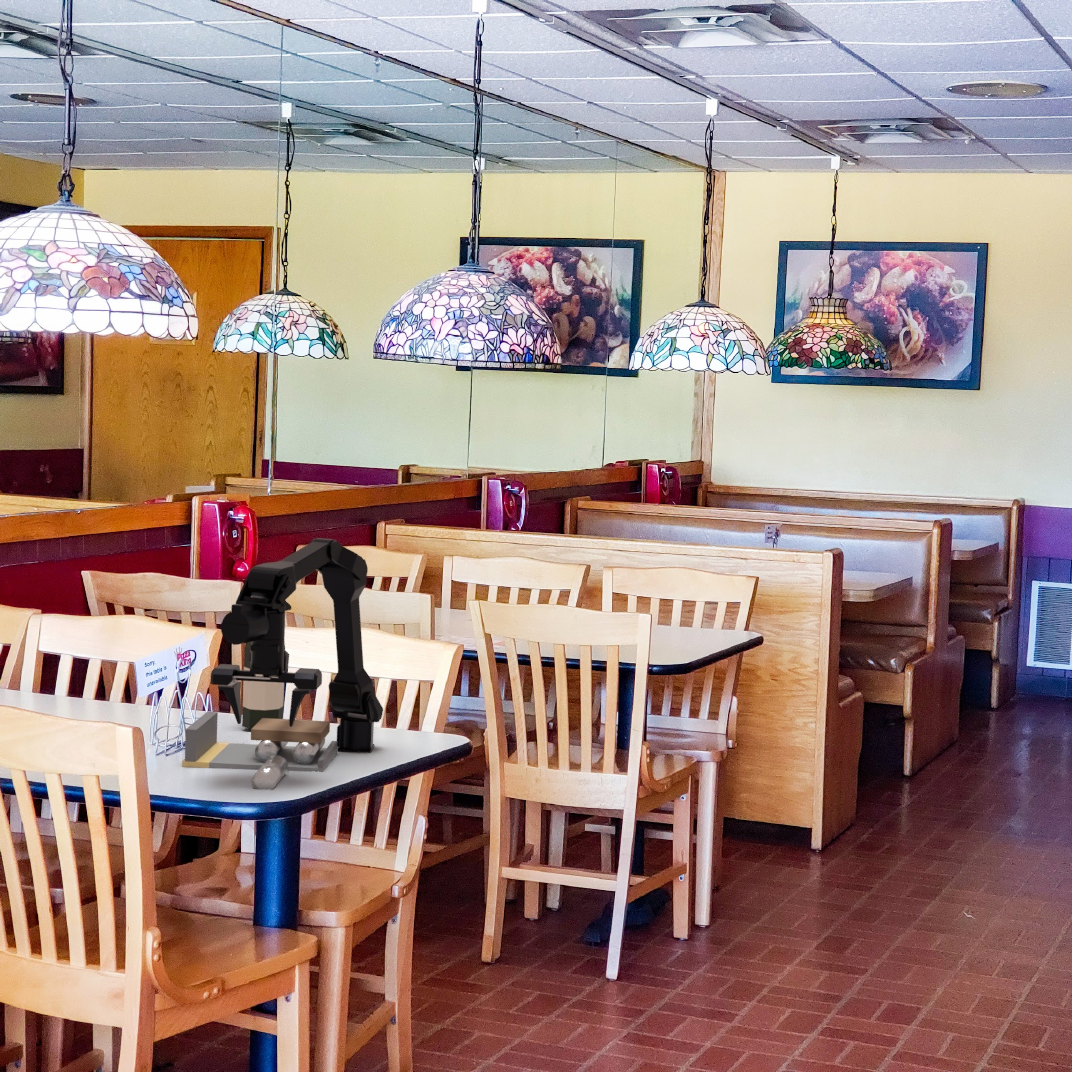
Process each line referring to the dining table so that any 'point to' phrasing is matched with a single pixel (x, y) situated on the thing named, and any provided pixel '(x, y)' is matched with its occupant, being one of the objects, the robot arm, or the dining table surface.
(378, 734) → the dining table surface
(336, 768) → the dining table surface
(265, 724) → the slab
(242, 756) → the track board
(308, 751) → the roller
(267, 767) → the roller
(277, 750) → the roller
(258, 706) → the wine bottle
